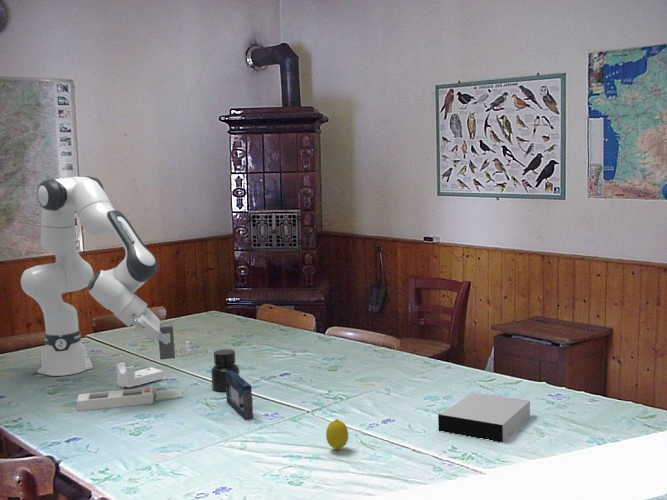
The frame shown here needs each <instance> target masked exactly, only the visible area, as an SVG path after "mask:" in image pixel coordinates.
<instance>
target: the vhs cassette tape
mask: <svg viewBox="0 0 667 500" xmlns="http://www.w3.org/2000/svg"><path fill="white" fill-rule="evenodd" d="M225 378H226V379H225V383H226V392H225V394H226V395H225V396H226V403H227V404H228V406H230V407H231V409H233V410H234V411H235V412H236V414H238V415H239V416H240V417H241V418H242V419H243V420H244V421H249V420H253V419H254V412H253V411H254V409H253V393H252V392H253V391H252V385H251V384H250V383H249V382H248V381H246V380H245V379H244V378H243V377H241V375H240V376H239V375H237V374H236V373H235V372H233V371H232V370H229V371H225Z"/></svg>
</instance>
